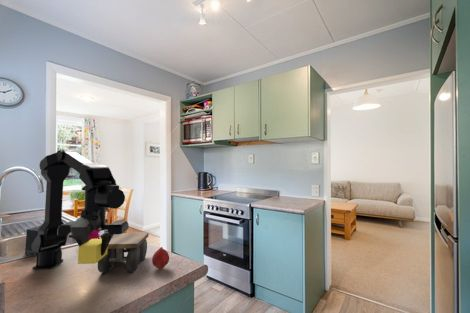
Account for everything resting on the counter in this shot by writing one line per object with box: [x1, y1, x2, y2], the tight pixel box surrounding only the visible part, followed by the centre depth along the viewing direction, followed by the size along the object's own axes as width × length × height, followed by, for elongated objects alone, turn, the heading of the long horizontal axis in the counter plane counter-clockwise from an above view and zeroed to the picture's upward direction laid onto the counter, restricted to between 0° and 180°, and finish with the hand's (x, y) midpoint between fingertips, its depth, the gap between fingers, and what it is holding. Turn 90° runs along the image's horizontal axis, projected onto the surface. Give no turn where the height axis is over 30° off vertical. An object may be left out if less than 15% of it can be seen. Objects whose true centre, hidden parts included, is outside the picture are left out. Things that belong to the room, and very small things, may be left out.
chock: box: [77, 238, 108, 265], centre depth 68 cm, size 5×7×5 cm
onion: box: [151, 246, 170, 271], centre depth 78 cm, size 6×6×8 cm
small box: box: [24, 225, 41, 257], centre depth 93 cm, size 11×6×10 cm, turn 168°
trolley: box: [97, 232, 149, 273], centre depth 80 cm, size 13×16×10 cm
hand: (93, 255), depth 68 cm, fingers closed on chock, 5 cm apart
